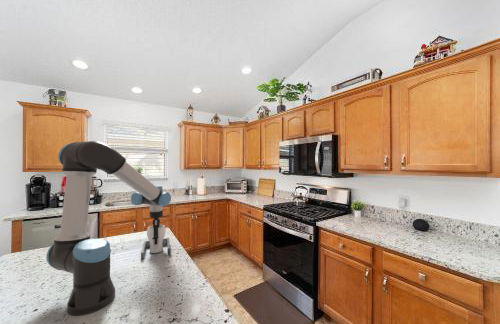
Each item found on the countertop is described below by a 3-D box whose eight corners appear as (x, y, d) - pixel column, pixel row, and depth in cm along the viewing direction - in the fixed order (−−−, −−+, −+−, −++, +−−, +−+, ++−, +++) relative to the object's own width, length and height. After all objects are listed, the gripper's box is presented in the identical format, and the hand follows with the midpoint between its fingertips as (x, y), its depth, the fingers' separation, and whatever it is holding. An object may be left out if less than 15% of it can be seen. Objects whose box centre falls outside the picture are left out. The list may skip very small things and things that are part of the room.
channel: (169, 255, 123) (169, 248, 123) (140, 259, 117) (140, 252, 117) (169, 243, 141) (169, 237, 141) (144, 247, 135) (144, 241, 135)
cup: (168, 247, 133) (168, 224, 133) (159, 254, 122) (159, 229, 123) (153, 246, 134) (153, 223, 134) (143, 253, 124) (143, 228, 124)
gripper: (162, 214, 119) (162, 252, 119) (163, 206, 141) (163, 238, 140) (148, 215, 117) (148, 254, 116) (150, 207, 138) (150, 240, 138)
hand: (156, 245), depth 128 cm, fingers closed on cup, 11 cm apart
